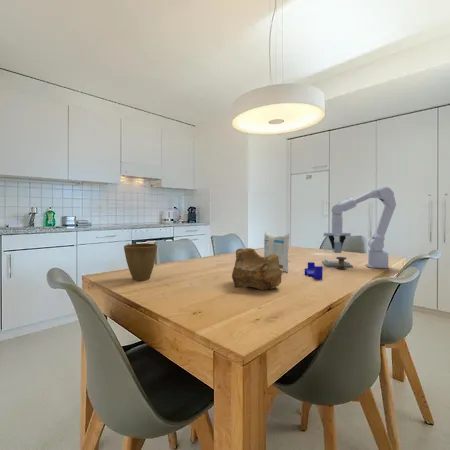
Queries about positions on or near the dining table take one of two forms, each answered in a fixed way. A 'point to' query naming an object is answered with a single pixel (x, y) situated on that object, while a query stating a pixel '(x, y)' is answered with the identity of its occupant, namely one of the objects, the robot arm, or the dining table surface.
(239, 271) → the rough brown rock
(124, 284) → the dining table surface
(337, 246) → the blue-grey block
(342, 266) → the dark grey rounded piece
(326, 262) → the grey railed square plate
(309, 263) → the cable clip
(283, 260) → the pouch
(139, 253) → the plant pot
